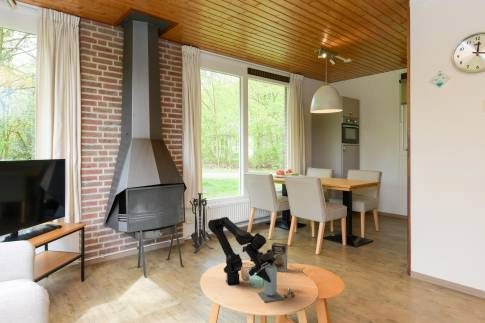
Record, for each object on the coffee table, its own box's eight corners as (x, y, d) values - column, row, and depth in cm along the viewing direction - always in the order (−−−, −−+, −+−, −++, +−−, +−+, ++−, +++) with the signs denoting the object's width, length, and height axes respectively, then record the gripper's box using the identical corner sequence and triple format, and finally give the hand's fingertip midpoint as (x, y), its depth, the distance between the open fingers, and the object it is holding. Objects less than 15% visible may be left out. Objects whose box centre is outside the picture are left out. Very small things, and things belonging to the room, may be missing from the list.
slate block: (264, 293, 152) (264, 267, 152) (268, 289, 156) (268, 264, 156) (272, 295, 149) (272, 269, 149) (276, 292, 153) (276, 266, 153)
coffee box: (270, 270, 187) (271, 244, 187) (273, 267, 193) (273, 242, 193) (285, 272, 184) (285, 246, 184) (287, 269, 190) (287, 243, 190)
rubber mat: (264, 302, 146) (264, 301, 146) (257, 293, 156) (257, 292, 156) (283, 299, 149) (283, 298, 149) (275, 291, 159) (275, 290, 159)
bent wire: (284, 298, 151) (284, 293, 151) (280, 293, 156) (280, 288, 156) (295, 297, 152) (295, 291, 152) (290, 292, 157) (290, 287, 157)
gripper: (253, 250, 147) (273, 278, 141) (272, 241, 162) (291, 266, 156) (240, 262, 152) (259, 290, 145) (260, 253, 167) (277, 277, 161)
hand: (272, 280), depth 152 cm, fingers closed on slate block, 4 cm apart
